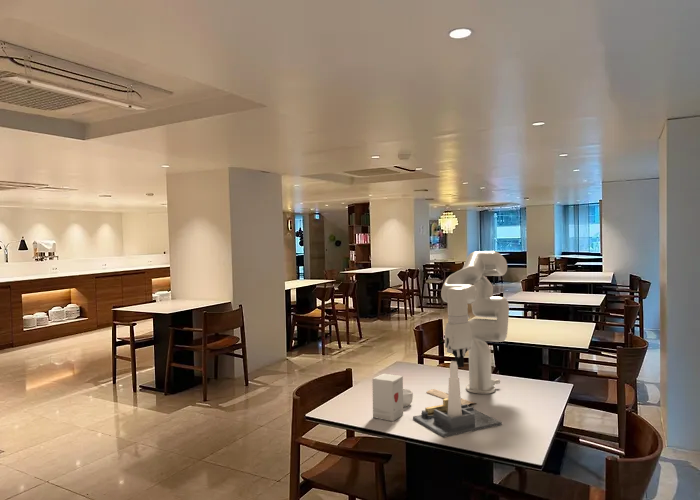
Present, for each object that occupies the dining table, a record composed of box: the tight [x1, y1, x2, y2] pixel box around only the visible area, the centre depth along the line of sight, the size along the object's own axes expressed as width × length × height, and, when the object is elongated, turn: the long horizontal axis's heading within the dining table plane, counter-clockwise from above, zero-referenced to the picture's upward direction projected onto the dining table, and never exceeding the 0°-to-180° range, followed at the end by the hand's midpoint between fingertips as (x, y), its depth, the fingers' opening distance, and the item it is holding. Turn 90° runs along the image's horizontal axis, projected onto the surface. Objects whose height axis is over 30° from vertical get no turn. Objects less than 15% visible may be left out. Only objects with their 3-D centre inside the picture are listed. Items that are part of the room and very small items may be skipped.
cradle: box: [412, 404, 503, 438], centre depth 179 cm, size 25×20×5 cm
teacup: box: [403, 388, 414, 407], centre depth 200 cm, size 10×8×5 cm
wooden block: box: [424, 399, 448, 415], centre depth 184 cm, size 10×2×5 cm, turn 114°
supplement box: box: [371, 373, 404, 422], centre depth 186 cm, size 9×9×15 cm
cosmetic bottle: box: [447, 360, 462, 417], centre depth 175 cm, size 6×6×22 cm
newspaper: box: [425, 388, 477, 406], centre depth 206 cm, size 24×7×2 cm, turn 33°
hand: (459, 366), depth 189 cm, fingers closed
